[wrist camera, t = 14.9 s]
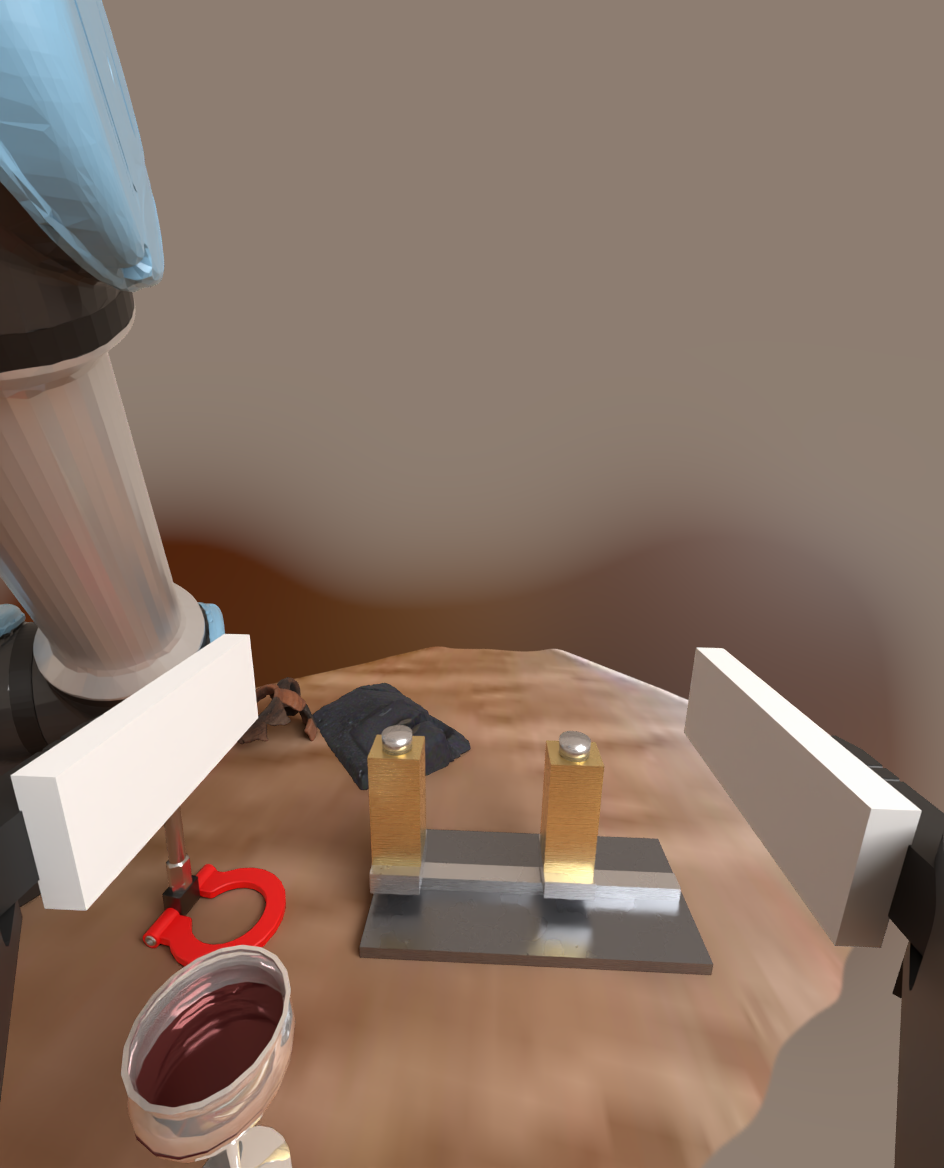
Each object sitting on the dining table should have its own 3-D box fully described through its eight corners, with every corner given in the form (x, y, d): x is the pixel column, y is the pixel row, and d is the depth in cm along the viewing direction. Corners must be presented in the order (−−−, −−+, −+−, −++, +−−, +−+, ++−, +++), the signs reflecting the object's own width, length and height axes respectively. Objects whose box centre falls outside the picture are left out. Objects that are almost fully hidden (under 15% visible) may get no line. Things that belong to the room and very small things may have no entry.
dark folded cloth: (398, 690, 79) (398, 663, 78) (479, 757, 62) (480, 724, 60) (304, 718, 70) (301, 688, 69) (367, 805, 53) (365, 767, 52)
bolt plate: (360, 957, 36) (350, 781, 32) (391, 836, 48) (387, 696, 44) (711, 974, 35) (744, 796, 32) (656, 847, 47) (676, 705, 43)
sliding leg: (543, 908, 39) (553, 757, 35) (534, 838, 46) (542, 707, 43) (593, 910, 39) (608, 759, 35) (577, 839, 46) (588, 708, 42)
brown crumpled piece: (317, 756, 61) (277, 715, 57) (253, 784, 62) (210, 745, 58) (330, 691, 72) (297, 653, 68) (275, 716, 73) (240, 679, 69)
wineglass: (250, 1333, 21) (217, 1145, 18) (125, 1265, 22) (76, 1082, 19) (334, 1129, 27) (320, 964, 24) (232, 1087, 29) (207, 928, 26)
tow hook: (304, 888, 43) (210, 867, 44) (300, 761, 39) (198, 743, 41) (245, 988, 35) (132, 958, 36) (233, 840, 31) (108, 814, 33)
